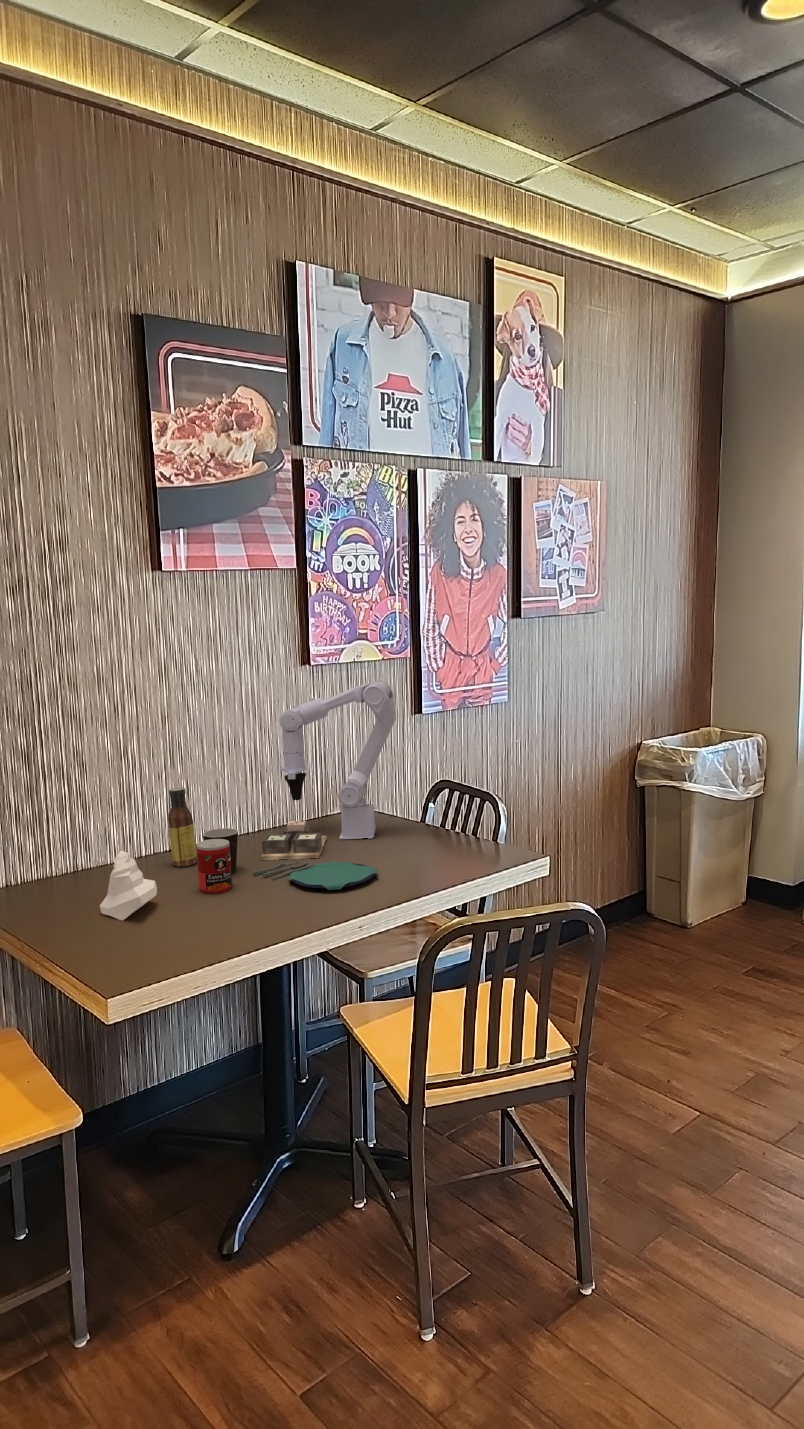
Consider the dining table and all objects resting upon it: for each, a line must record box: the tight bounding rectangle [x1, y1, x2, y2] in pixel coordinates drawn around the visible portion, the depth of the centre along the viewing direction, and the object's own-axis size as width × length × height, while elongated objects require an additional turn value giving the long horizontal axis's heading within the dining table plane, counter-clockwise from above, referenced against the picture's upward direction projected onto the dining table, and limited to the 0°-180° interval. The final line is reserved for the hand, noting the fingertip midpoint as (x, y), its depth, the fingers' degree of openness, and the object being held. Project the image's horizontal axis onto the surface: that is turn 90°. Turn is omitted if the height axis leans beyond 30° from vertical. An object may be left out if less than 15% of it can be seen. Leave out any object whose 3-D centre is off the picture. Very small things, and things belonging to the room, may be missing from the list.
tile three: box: [286, 820, 307, 831], centre depth 261 cm, size 4×4×3 cm
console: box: [260, 824, 328, 861], centre depth 256 cm, size 15×19×4 cm
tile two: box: [268, 835, 287, 840], centre depth 252 cm, size 4×4×3 cm
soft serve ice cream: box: [99, 850, 158, 921], centre depth 212 cm, size 12×15×14 cm
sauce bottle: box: [167, 786, 198, 868], centre depth 245 cm, size 6×6×20 cm
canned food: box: [196, 839, 233, 894], centre depth 225 cm, size 8×8×11 cm
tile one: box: [298, 834, 317, 839], centre depth 252 cm, size 4×4×3 cm
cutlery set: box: [252, 860, 379, 891], centre depth 231 cm, size 20×30×2 cm, turn 51°
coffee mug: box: [202, 827, 239, 874], centre depth 236 cm, size 12×9×10 cm
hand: (296, 799), depth 269 cm, fingers closed
